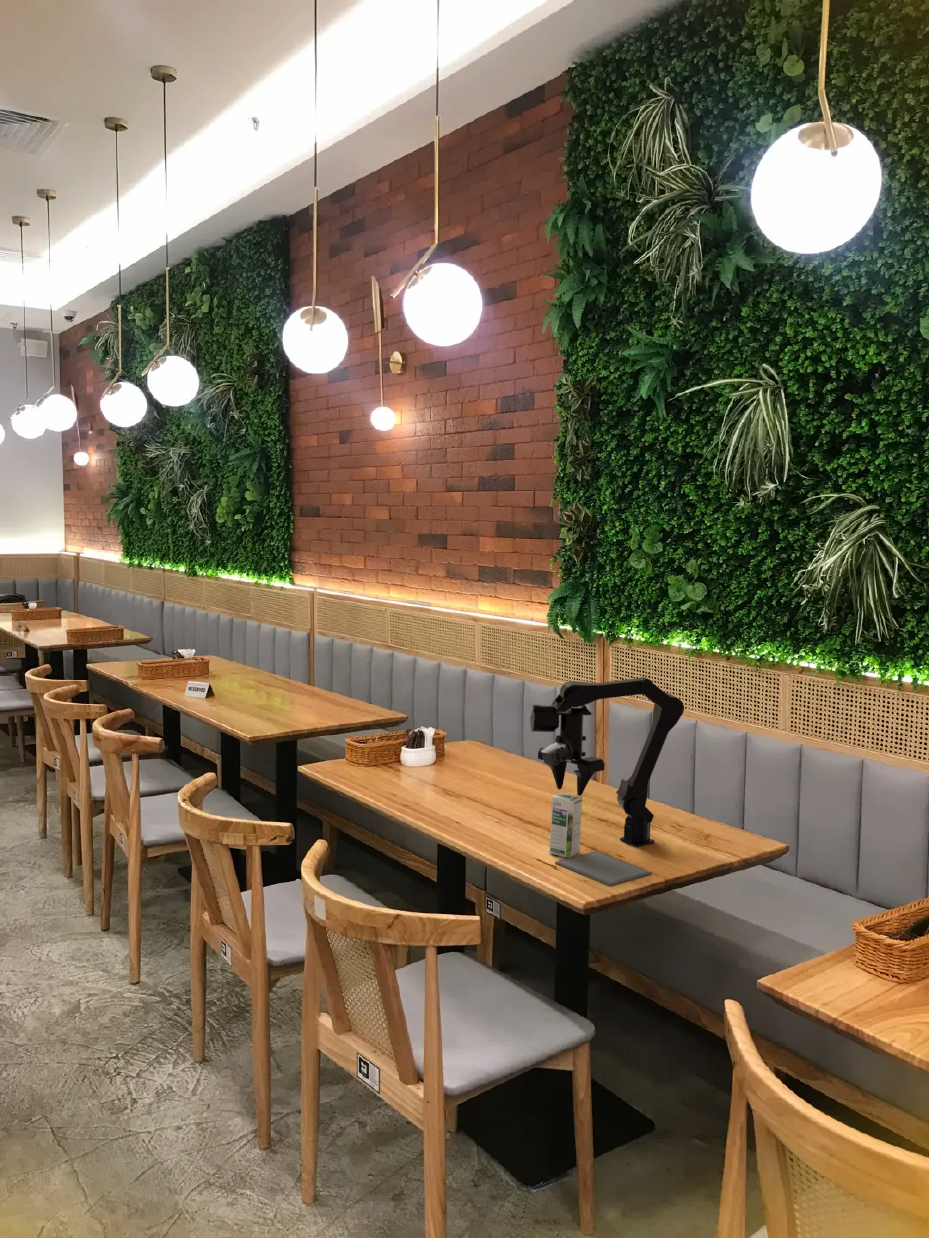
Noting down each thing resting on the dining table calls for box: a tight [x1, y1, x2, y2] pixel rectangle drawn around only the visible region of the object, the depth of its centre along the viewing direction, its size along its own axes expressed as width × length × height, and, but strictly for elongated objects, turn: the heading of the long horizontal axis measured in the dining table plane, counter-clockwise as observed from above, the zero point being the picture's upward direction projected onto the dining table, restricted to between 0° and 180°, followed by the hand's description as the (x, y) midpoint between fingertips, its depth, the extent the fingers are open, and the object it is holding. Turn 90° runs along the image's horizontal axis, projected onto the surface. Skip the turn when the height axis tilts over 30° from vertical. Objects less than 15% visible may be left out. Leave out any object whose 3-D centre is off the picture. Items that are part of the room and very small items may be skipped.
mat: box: [554, 850, 653, 887], centre depth 226 cm, size 14×18×1 cm
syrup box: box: [548, 792, 583, 859], centre depth 235 cm, size 6×6×14 cm
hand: (569, 792), depth 244 cm, fingers open, 7 cm apart
